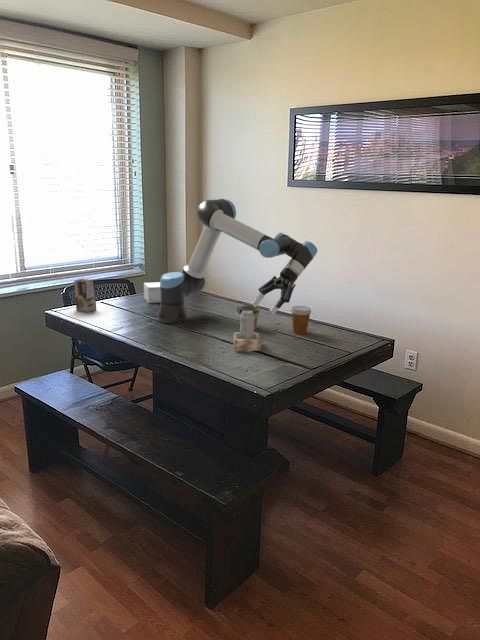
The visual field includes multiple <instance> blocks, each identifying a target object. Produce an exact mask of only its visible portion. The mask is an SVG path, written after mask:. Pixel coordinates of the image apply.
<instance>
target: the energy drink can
mask: <svg viewBox="0 0 480 640" xmlns="http://www.w3.org/2000/svg"><path fill="white" fill-rule="evenodd" d="M239 316H240V317H239V319H240V320H239V332H240V339H254V333H255V329H254V314H253V311H250V310H244V311H242V313H241V315H240V314H239Z"/></svg>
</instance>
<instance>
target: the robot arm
mask: <svg viewBox="0 0 480 640" xmlns="http://www.w3.org/2000/svg"><path fill="white" fill-rule="evenodd" d="M196 216H197V219H198V221H199V222H200V223H201V224H202V225H203V229H202V232H201V233H200V236H199V238H198V240H197V244H196V246H195V248H194V250H193V252H192V255H191V258H190V260H189V262H188V264H185V265H184V266H183V269H182V271H181V272H179V271H173V272H165V273H163V275H161V276H160V281H159V282H160V295H161V302H160V306H159V309H158V313H157V321H158V322H160V323H164V324H180V323H184V322H187V321H188V313H187V310H186V309H187V308H186V307H185V297H189V296H192V295H196V294H198V293H200V292H202V291H203V290H204V288H205V286H206V273H205V270H206V267H207V265H208V262H209V261H210V259H211V256H212V255H213V251H214V249H215V247H216V245H217V242H218V240H219V238H220V235H221V233H223V234H225V235H228V236H229V237H232V238H233V239H235V240H237V241H239V242H241V243H243V244H245V245H247V246H249V247H251V248H252V249H255V250H257V251H259V253H260V255H261V256H262V257H263V258H266V259H268V258H271V259H272V258H275V257H279V256H282V255H286V256H288V257H290V258H291V259H289V261H288V262H287V263H286V265H285V267H283V268H282V269H281V271H280V273H279V276H278V277H277V276H276V275H274V276H273V277H272V278H271V279H270V280H268V281H267V282H265V283H264V284H263V285H261V286H260V287H259V288H258V289H257V290H258V294H257V295H256V297H254V299H253V301H252V302H251V306H254V307H258V306H259V304H260V302H261V301H263V299H264V298H265V296H266V294H270V292H272V291H274V290H280V297H279V298H278V299H277V300H276V302H275V303H274V304H273V305H272V307H271V308H270V309H269V312H270V313H271V314H272V315H273V316H274V315H275V314H276V313H277V311H278V310H279V309H281V307H282V306H283V304H285V303H287V304H288V303H290V301H291V298H292V294H293V291H294V289H295V287H296V283H295V282H296V281H297V279H299V277H300V275H301V274H303V272H304V270H305V269H306V268H307V267H308V266H309V264H311V262H312V260H314V258H315V257H316V255H317V254H318V247H317V246H316V245H315V244H314V243H313V242H311V241H308V240H306V241H304V242H303V243H302V242H299V241H297V240H296V239H294V238H292V237H290V235H288V234H286V233H283V232H278V233H277V234H276V235H275V236H274V238H273V237H271V236H269V235H267V234H265V233H263V232H262V231H259V230H257V229H255V228H253V227H251V226H249V225H247V224H245V223H243V222H241V221H239V220H237V219H236V216H237V210H236V206H235V204H234V203H233V202H232V201H231V200H229V199H225V198H218V199H206V200H204V201H202V202H201V203H200V204H198V207H197V209H196Z"/></svg>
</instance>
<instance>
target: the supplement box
mask: <svg viewBox="0 0 480 640" xmlns="http://www.w3.org/2000/svg"><path fill="white" fill-rule="evenodd" d="M143 298H144V300H145V301H146V302H147V303H148V304H155V303H161V295H160V281H157V282H156V281H155V282H143Z"/></svg>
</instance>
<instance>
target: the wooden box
mask: <svg viewBox="0 0 480 640" xmlns="http://www.w3.org/2000/svg"><path fill="white" fill-rule="evenodd" d="M232 338H233V339H232V340H233V341H232V343H233V350H234V352H251V351H260V352H261V337H260V334H259V332H254V339H240V331H239V332H235V331H234V332H233V337H232Z"/></svg>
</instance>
